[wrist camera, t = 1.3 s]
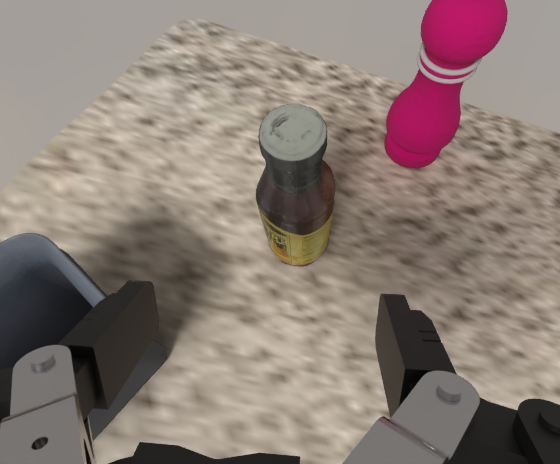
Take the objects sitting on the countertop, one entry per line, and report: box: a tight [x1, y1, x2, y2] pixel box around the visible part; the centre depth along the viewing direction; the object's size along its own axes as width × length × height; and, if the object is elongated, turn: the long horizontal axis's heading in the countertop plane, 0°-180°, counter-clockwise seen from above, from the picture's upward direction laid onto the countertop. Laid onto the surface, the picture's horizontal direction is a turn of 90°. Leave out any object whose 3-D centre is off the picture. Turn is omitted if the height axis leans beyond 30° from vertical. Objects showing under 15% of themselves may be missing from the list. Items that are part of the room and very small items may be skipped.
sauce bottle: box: [256, 104, 335, 266], centre depth 31 cm, size 7×6×20 cm
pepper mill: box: [385, 0, 507, 168], centre depth 34 cm, size 7×7×20 cm
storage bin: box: [0, 233, 166, 440], centre depth 29 cm, size 21×16×14 cm
